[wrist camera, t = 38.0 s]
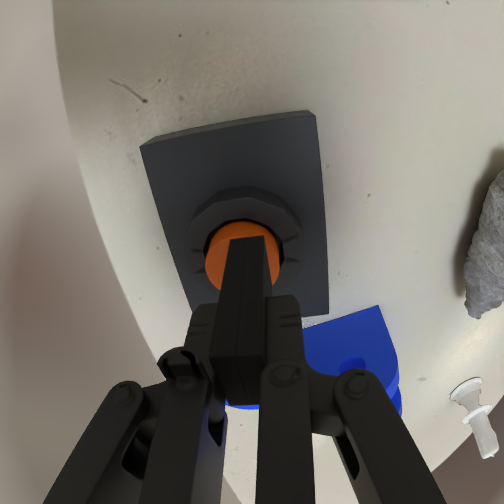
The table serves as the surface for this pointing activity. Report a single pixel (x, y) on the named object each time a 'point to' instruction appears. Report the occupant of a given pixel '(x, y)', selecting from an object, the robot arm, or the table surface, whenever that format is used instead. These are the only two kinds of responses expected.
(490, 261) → the grey ridged oval piece
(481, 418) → the candle
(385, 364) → the bracket
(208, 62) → the table surface
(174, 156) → the push button base
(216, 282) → the switch
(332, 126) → the table surface
